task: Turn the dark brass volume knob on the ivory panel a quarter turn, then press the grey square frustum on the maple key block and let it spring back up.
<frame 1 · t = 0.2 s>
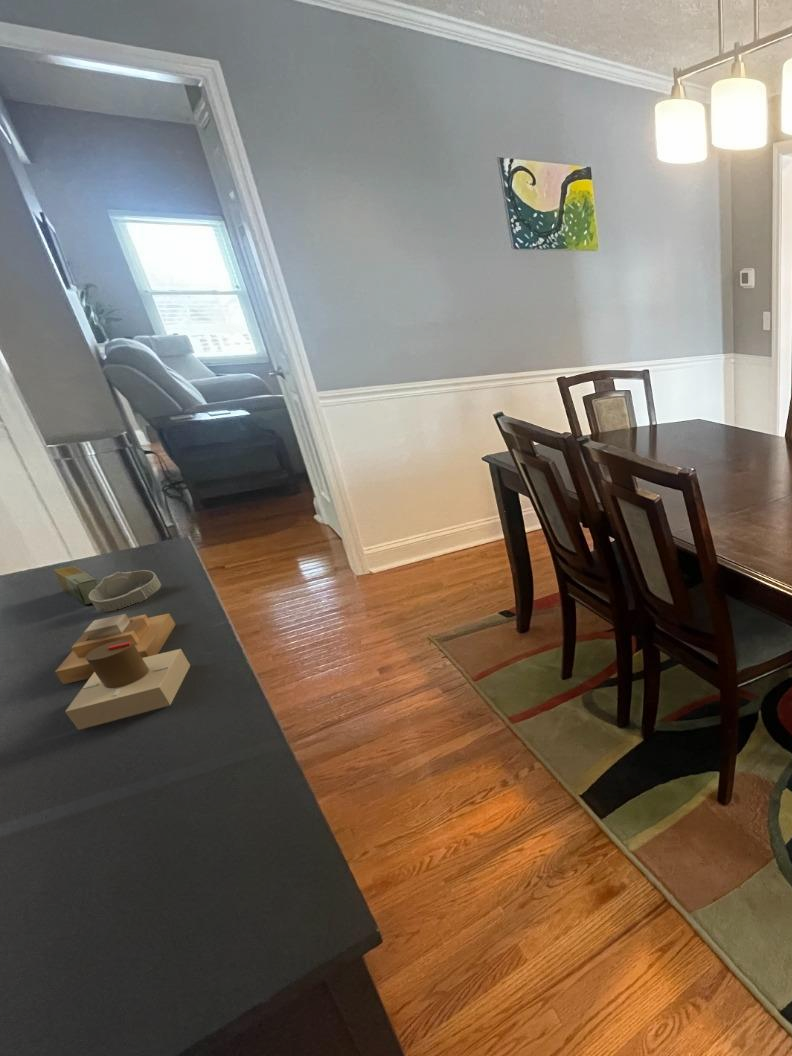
grey woven basket: (132, 601, 104), on the table
key block: (123, 652, 89), on the table
medication box: (86, 596, 106), on the table
volume knob: (117, 662, 77), point 5 cm above the table, hinge at 0.0°
grey square frustum: (108, 627, 87), point 4 cm above the table, slide at 0.1 cm
volume panel: (138, 695, 80), on the table
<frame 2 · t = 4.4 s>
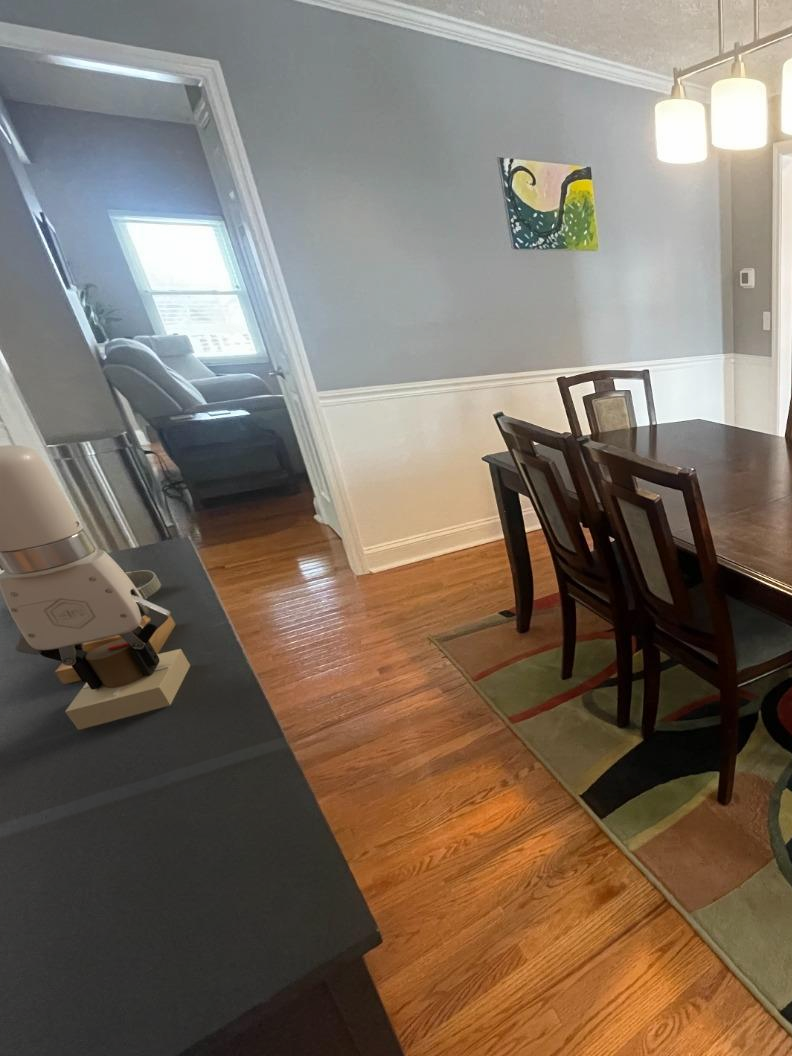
hand: (125, 675, 78), 3 cm above the table, tool pointing down, fingers closed on volume knob, volume panel, 4 cm apart
volume knob: (117, 662, 77), point 5 cm above the table, hinge at 0.0°, touching gripper
everything else where it was.
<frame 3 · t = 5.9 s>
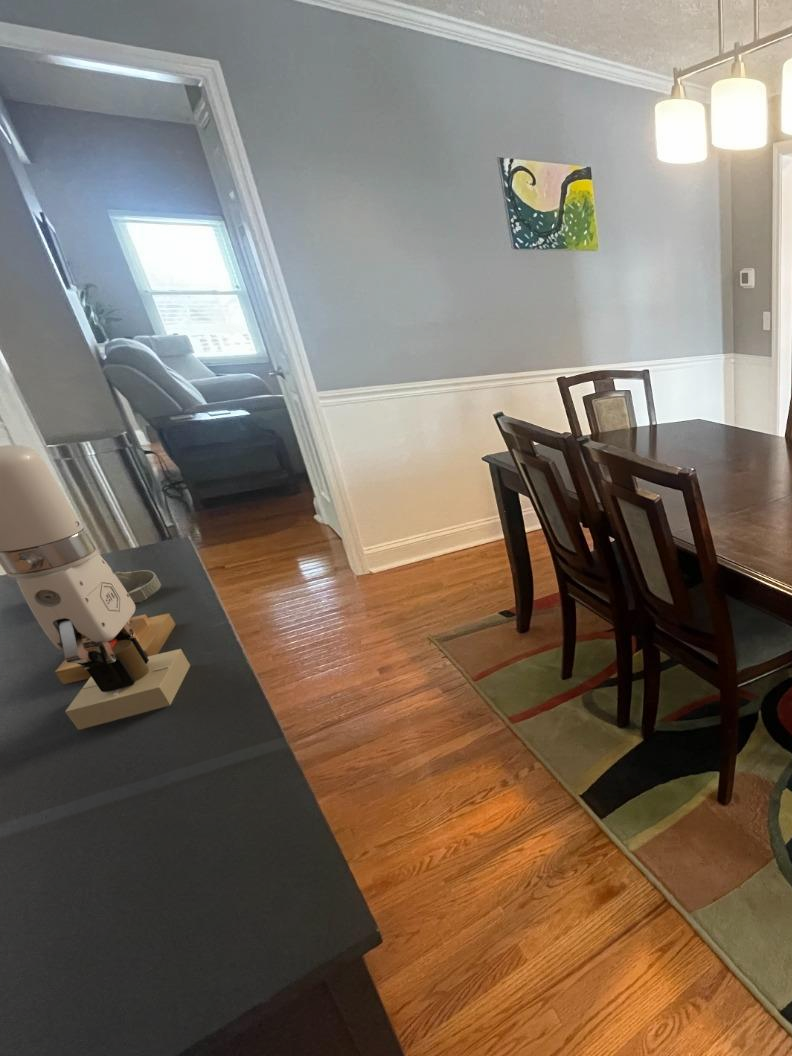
hand: (126, 675, 78), 3 cm above the table, tool pointing down, fingers closed on volume knob, volume panel, 4 cm apart
volume knob: (117, 662, 77), point 5 cm above the table, hinge at 90.2°, touching gripper
everything else where it was.
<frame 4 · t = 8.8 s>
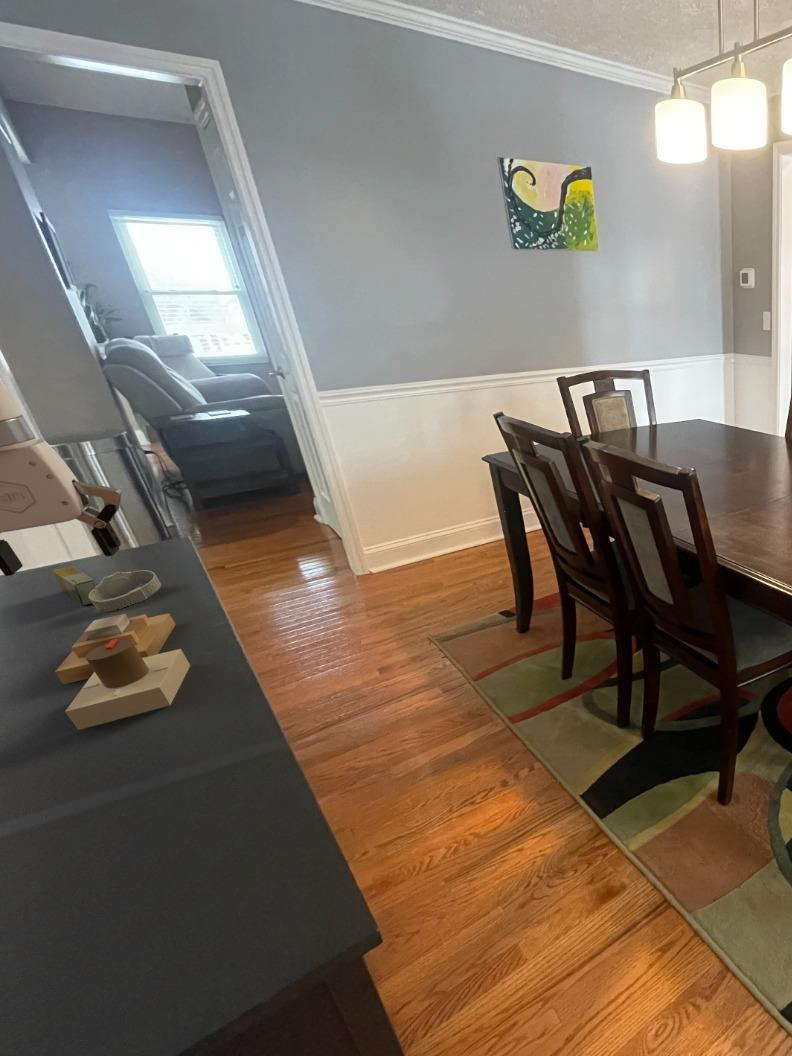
hand: (65, 561, 80), 16 cm above the table, tool pointing down, fingers open, 9 cm apart
volume knob: (117, 662, 77), point 5 cm above the table, hinge at 90.2°
everything else where it was.
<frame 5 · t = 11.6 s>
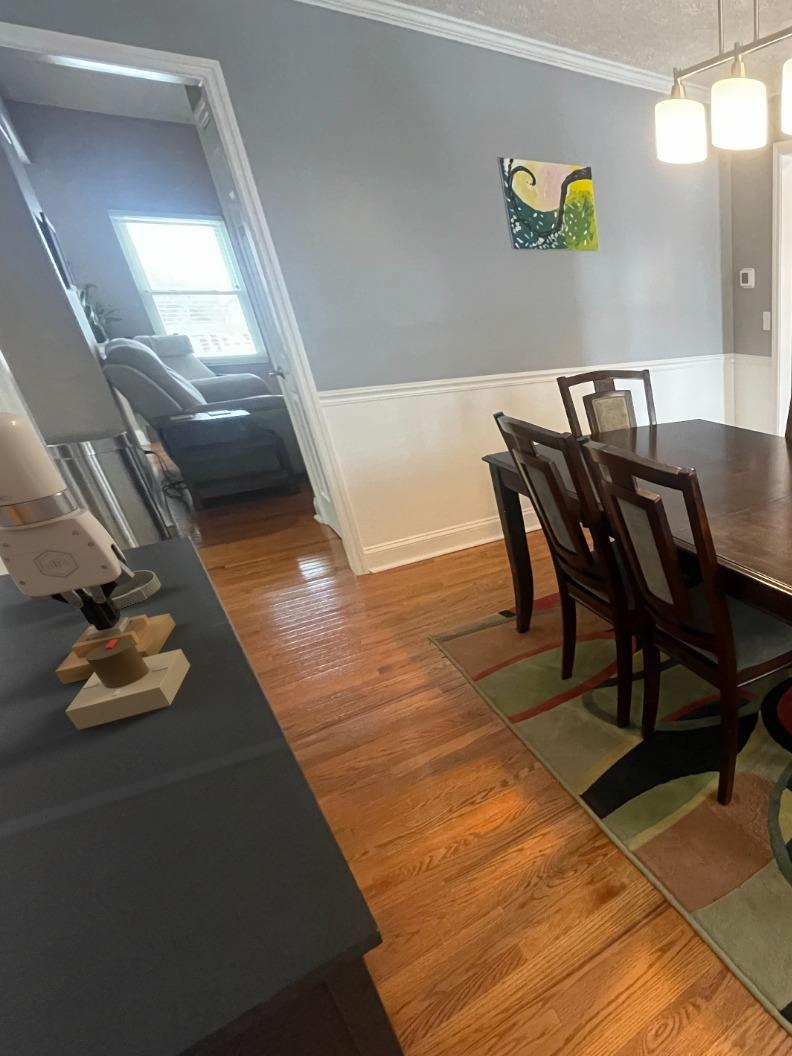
hand: (109, 624, 87), 5 cm above the table, tool pointing down, fingers closed
grey square frustum: (110, 630, 88), point 4 cm above the table, slide at -0.5 cm, touching gripper
everything else where it was.
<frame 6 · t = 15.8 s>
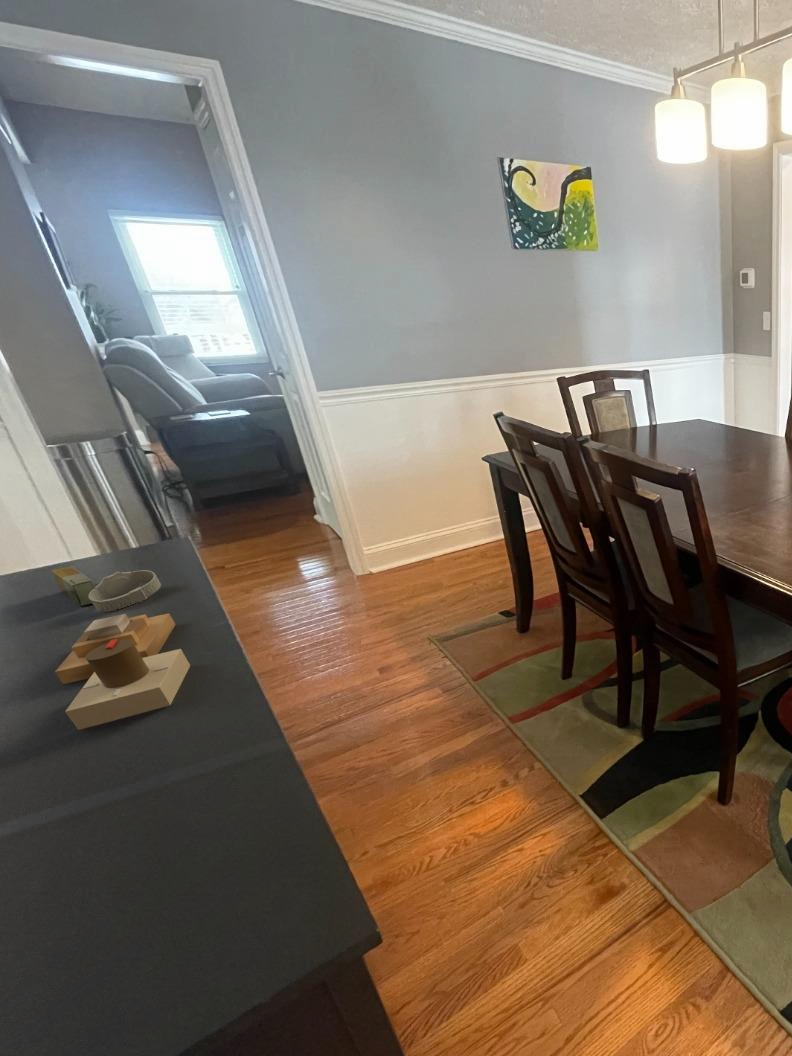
grey square frustum: (108, 627, 87), point 4 cm above the table, slide at 0.1 cm
everything else where it was.
at the end: volume knob at +90° (first picture: +0°); grey square frustum pushed in 1.1 cm at the most during the clip, back to where it started at the end; grey square frustum slide at 0.1 cm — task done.
